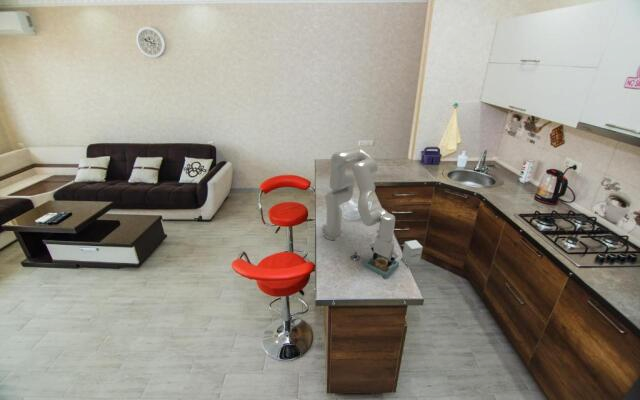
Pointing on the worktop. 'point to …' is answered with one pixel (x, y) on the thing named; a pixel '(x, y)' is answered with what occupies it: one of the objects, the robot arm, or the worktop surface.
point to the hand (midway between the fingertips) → (382, 262)
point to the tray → (380, 270)
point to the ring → (381, 266)
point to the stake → (355, 257)
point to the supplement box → (412, 253)
